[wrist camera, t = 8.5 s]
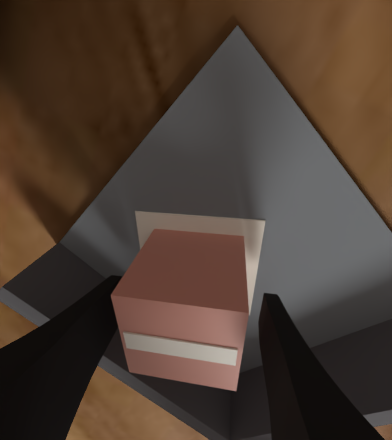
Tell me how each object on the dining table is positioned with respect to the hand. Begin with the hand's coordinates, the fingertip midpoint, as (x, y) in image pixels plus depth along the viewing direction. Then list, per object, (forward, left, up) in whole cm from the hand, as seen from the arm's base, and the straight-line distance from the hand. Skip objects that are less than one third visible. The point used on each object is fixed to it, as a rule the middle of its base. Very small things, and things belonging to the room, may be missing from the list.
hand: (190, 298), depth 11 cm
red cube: (0, 0, -2) cm, 2 cm away
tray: (-2, -1, -3) cm, 4 cm away
